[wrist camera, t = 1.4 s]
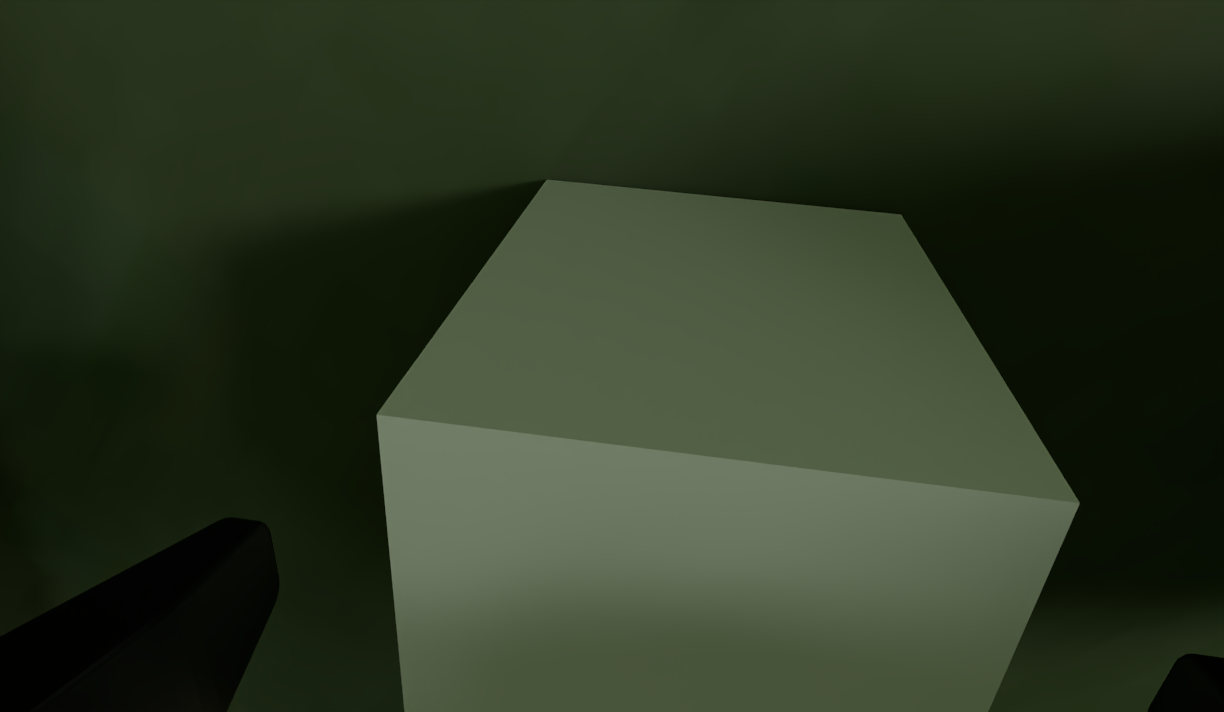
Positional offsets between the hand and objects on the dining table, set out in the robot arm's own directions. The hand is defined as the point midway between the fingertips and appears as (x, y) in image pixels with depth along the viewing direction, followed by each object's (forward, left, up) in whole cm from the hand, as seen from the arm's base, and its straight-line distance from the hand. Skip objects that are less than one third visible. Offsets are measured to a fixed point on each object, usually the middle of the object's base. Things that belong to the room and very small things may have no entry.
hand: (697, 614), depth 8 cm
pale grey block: (0, 0, -6) cm, 6 cm away
